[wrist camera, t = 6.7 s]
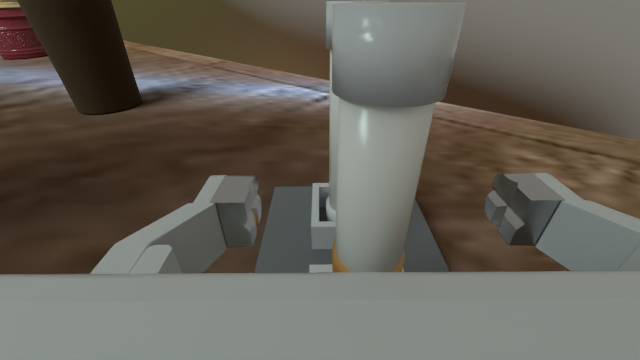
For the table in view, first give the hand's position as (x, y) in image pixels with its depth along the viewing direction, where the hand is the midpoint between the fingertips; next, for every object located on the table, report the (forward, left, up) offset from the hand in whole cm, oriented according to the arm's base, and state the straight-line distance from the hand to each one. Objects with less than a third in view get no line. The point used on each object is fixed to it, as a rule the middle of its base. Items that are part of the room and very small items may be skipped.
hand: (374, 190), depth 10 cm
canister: (-100, +94, -10) cm, 137 cm away
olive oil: (-38, +40, -10) cm, 56 cm away
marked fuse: (0, 0, -9) cm, 9 cm away
